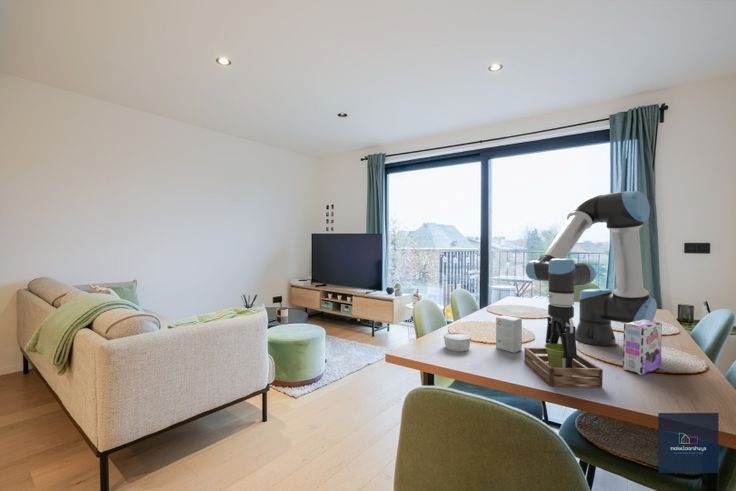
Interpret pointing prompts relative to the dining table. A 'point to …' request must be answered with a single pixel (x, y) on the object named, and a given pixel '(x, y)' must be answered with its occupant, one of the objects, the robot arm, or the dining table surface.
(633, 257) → the robot arm
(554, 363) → the plant pot
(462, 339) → the ramekin
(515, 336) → the small box
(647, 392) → the dining table surface
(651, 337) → the candy box
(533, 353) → the crate
